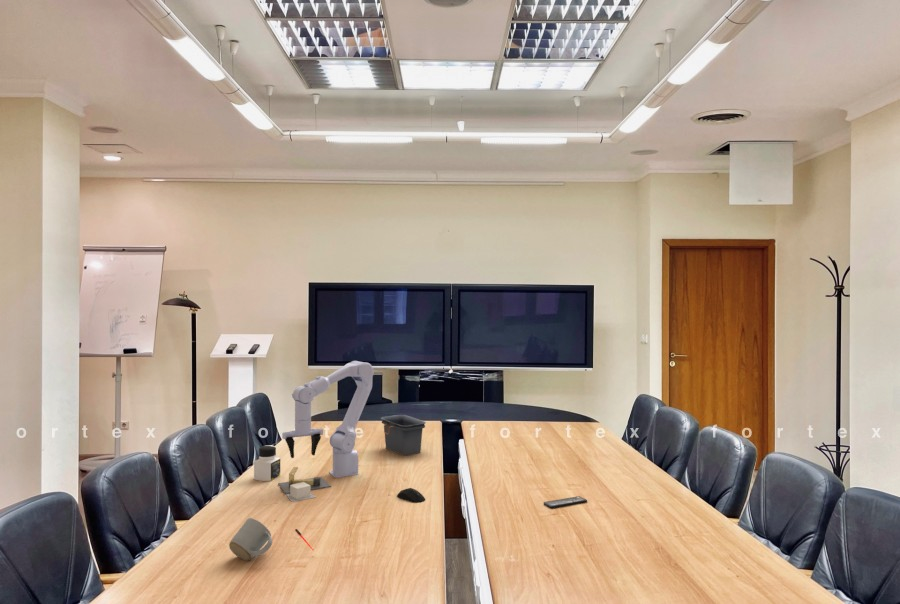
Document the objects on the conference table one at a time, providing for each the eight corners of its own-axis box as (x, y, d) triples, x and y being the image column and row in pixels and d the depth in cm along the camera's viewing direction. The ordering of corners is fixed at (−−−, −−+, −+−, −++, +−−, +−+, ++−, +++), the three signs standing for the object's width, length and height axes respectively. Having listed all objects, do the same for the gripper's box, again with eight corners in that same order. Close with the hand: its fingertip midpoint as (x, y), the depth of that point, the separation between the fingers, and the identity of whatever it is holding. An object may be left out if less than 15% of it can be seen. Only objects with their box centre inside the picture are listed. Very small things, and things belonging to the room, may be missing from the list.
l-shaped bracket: (293, 478, 211) (293, 466, 211) (322, 477, 212) (323, 466, 212) (288, 486, 201) (288, 474, 201) (319, 485, 202) (319, 473, 202)
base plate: (321, 478, 213) (321, 476, 213) (331, 488, 203) (331, 485, 203) (278, 485, 206) (278, 483, 206) (285, 495, 195) (285, 492, 195)
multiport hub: (543, 509, 184) (543, 501, 184) (579, 502, 190) (579, 495, 190) (550, 513, 180) (550, 506, 180) (587, 507, 186) (587, 500, 186)
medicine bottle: (271, 481, 210) (271, 449, 210) (253, 480, 211) (253, 448, 211) (280, 476, 217) (280, 444, 217) (263, 474, 218) (263, 443, 218)
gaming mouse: (421, 510, 183) (421, 497, 183) (392, 498, 193) (392, 486, 193) (435, 505, 187) (435, 493, 187) (407, 494, 198) (407, 482, 198)
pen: (296, 530, 166) (296, 526, 166) (317, 555, 150) (317, 551, 150) (293, 531, 165) (293, 527, 165) (313, 556, 149) (313, 552, 149)
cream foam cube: (303, 492, 197) (303, 482, 197) (310, 495, 193) (310, 485, 193) (290, 495, 194) (290, 485, 194) (296, 499, 190) (296, 488, 190)
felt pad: (309, 491, 199) (309, 490, 199) (315, 498, 192) (315, 497, 192) (285, 495, 195) (286, 494, 195) (291, 502, 188) (291, 501, 188)
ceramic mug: (241, 564, 147) (221, 543, 146) (263, 538, 153) (244, 518, 152) (259, 562, 140) (238, 540, 139) (281, 535, 146) (261, 513, 145)
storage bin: (429, 454, 249) (429, 421, 249) (399, 460, 239) (399, 426, 239) (402, 444, 266) (402, 414, 266) (373, 449, 256) (374, 418, 256)
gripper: (319, 415, 215) (319, 451, 215) (280, 419, 208) (280, 455, 208) (324, 418, 209) (324, 455, 209) (284, 422, 202) (284, 460, 202)
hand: (302, 456), depth 208 cm, fingers open, 7 cm apart
